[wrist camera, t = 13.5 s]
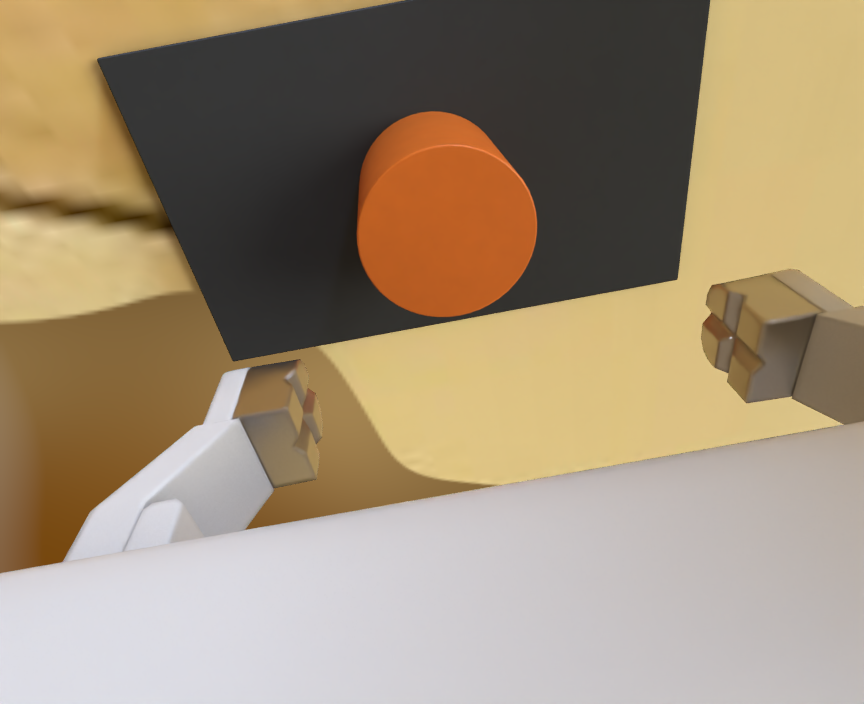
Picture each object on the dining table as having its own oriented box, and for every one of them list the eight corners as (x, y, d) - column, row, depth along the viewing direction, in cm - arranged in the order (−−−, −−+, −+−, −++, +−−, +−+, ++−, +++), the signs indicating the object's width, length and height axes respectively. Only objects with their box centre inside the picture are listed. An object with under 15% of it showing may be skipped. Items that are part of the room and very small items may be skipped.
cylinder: (497, 97, 19) (533, 127, 15) (508, 243, 22) (541, 301, 18) (343, 126, 19) (336, 164, 15) (376, 267, 22) (378, 331, 18)
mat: (710, -58, 17) (717, -59, 17) (673, 275, 24) (677, 279, 24) (101, 57, 17) (96, 59, 17) (234, 356, 24) (232, 361, 24)
